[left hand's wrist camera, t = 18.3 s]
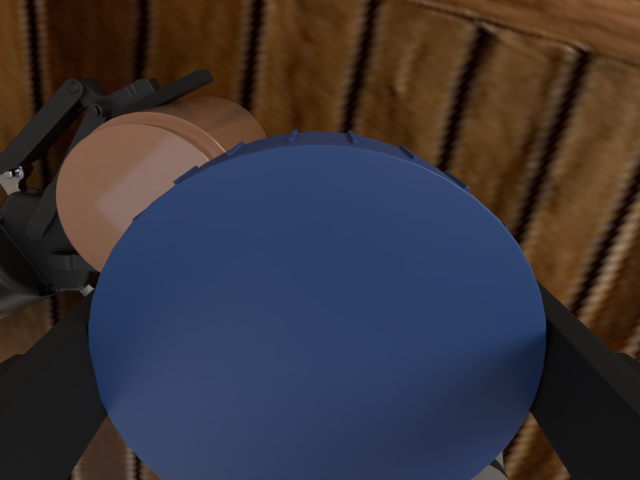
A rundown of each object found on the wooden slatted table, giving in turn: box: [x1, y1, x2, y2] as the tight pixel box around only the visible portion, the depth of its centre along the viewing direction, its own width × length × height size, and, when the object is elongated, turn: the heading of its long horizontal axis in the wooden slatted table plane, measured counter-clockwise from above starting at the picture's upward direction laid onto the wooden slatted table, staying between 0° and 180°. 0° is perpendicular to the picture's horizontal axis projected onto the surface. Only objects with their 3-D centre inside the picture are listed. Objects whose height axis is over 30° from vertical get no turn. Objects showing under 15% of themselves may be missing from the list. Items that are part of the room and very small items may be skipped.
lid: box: [88, 129, 546, 480], centre depth 12 cm, size 11×11×2 cm
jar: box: [56, 96, 267, 273], centre depth 29 cm, size 10×10×15 cm
